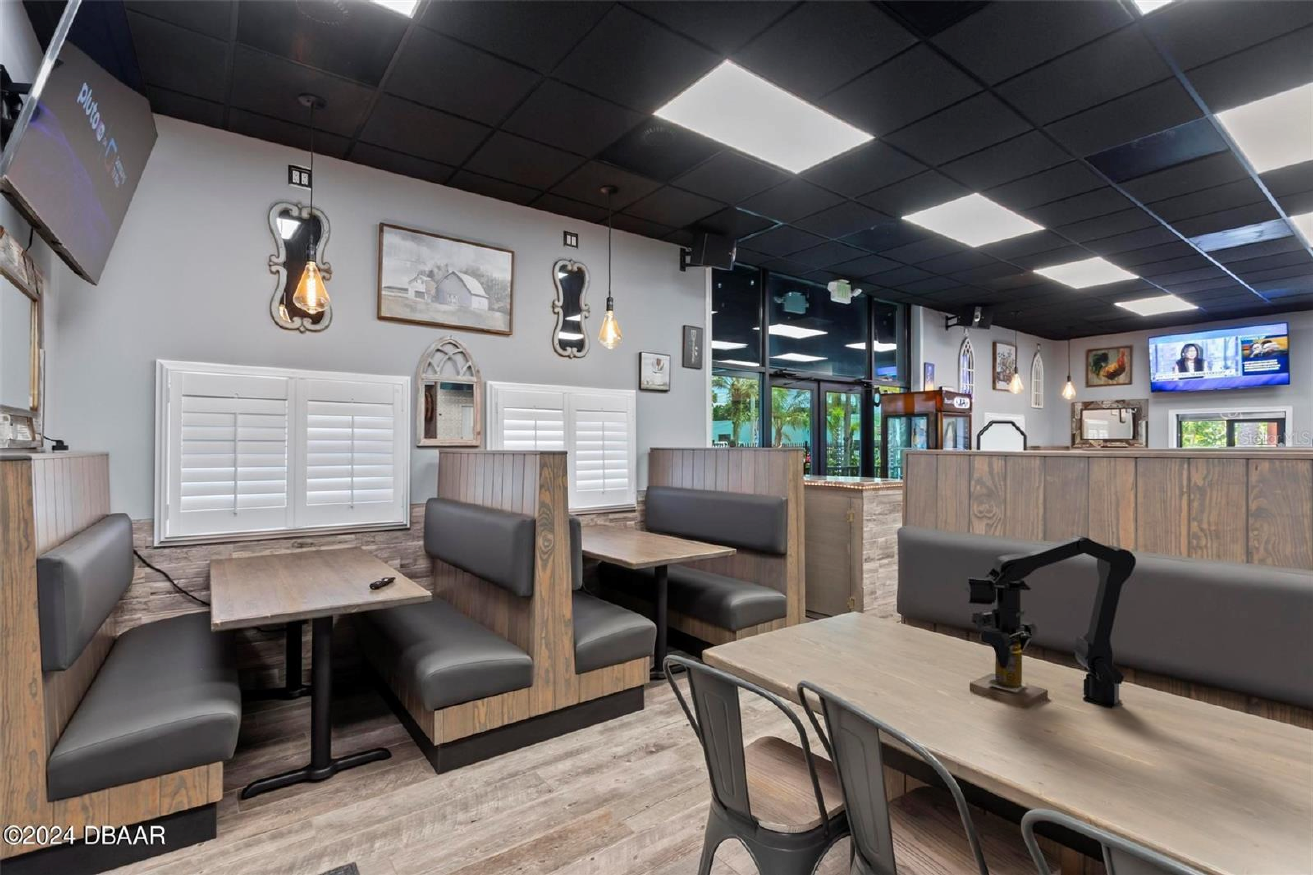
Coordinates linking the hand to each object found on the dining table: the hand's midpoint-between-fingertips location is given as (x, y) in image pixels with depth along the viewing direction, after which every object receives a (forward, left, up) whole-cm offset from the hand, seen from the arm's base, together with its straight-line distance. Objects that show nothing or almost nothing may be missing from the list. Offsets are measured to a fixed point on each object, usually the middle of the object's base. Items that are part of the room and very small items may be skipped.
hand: (1008, 665), depth 162 cm
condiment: (0, +1, -5) cm, 5 cm away
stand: (0, 0, -7) cm, 7 cm away
